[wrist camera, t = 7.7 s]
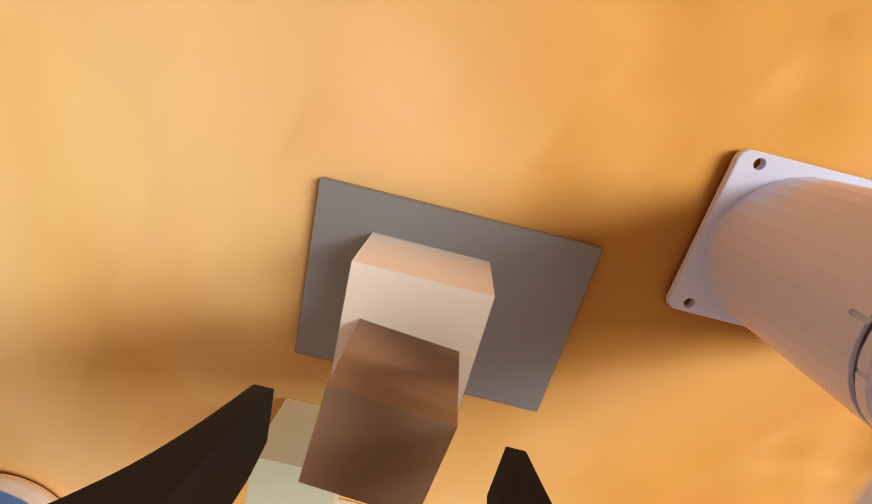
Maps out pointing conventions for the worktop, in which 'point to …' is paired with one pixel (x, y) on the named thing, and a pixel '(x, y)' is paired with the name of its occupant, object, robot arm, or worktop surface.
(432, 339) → the off-white block
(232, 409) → the robot arm
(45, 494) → the supplement tub
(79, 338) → the worktop surface
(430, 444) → the walnut block
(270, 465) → the sage green block
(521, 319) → the mat
